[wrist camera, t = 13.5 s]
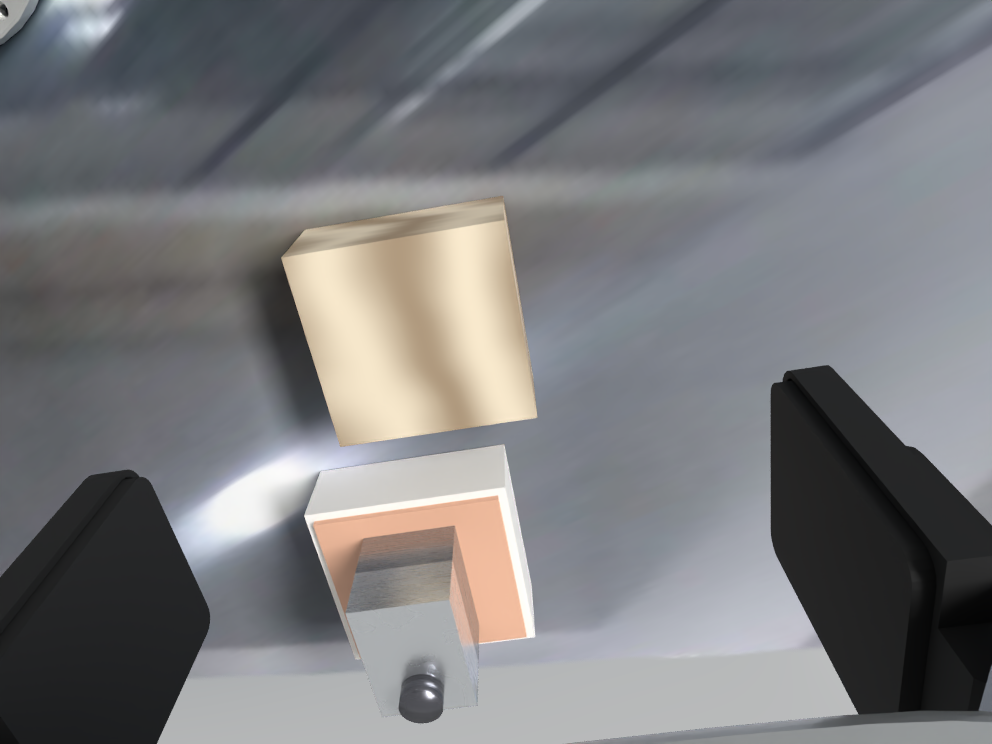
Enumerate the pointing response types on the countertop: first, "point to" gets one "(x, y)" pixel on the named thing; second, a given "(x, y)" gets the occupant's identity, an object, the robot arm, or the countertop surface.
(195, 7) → the countertop surface
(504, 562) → the stand
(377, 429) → the stand
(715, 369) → the countertop surface
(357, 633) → the housing
